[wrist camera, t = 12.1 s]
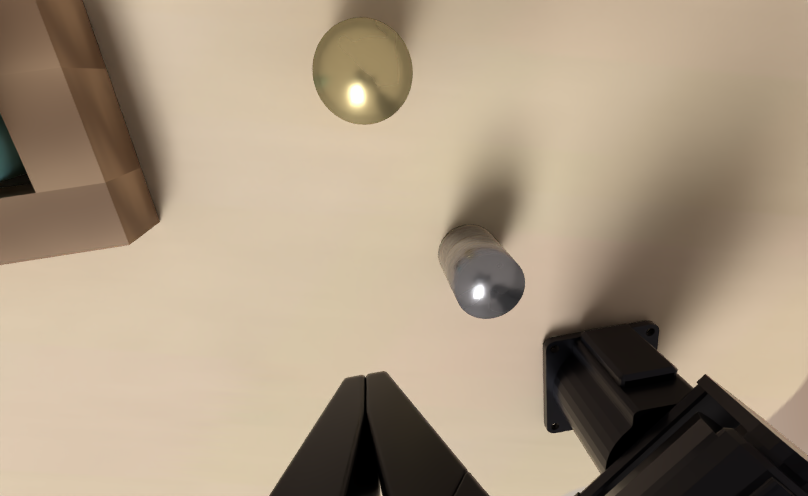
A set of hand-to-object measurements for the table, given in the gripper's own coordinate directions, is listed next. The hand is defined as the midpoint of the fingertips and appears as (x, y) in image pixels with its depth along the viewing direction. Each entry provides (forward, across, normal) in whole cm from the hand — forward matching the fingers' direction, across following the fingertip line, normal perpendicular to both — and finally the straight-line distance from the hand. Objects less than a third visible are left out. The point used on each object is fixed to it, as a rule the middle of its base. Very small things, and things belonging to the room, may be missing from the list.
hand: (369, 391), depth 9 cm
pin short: (+13, -5, +3) cm, 14 cm away
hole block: (+13, +14, -6) cm, 20 cm away
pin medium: (+13, -1, -6) cm, 14 cm away
